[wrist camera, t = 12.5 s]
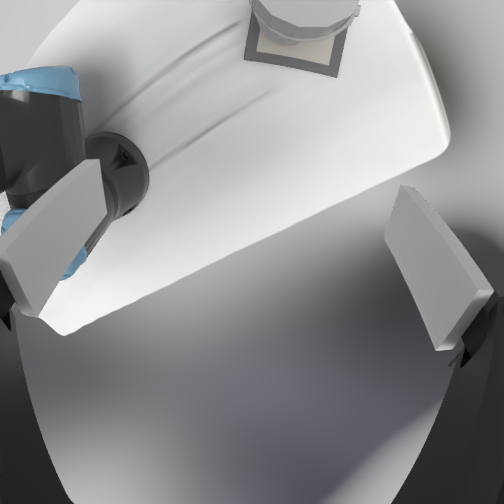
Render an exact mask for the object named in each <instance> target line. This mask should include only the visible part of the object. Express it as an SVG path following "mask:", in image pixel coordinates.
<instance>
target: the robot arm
mask: <svg viewBox="0 0 504 504" xmlns="http://www.w3.org/2000/svg"><path fill="white" fill-rule="evenodd" d="M82 102H83V99H82V97H81V96H80V88H79V79H78V74H77V72H76V71H75V70H74V69H73V68H71V67H68V66H47V67H38V68H32V69H26V70H21V71H17V72H13V73H9V74H6V75H1V76H0V193H2V192H4V191H5V192H6V195H7V198H8V202H9V205H10V209H11V210H10V211H8V212H7V213H6V215H5V217H4V219H3V221H2V227H1V234H2V236H1V237H0V504H74V503H73V502H72V501H71V500H70V499H69V498H68V495H67V494H66V492H65V490H64V488H63V486H62V484H61V481H60V479H59V477H58V475H57V473H56V470H55V468H54V466H53V463H52V461H51V459H50V456H49V453H48V451H47V449H46V445H45V443H44V440H43V438H42V434H41V431H40V428H39V425H38V422H37V419H36V416H35V413H34V410H33V406H32V403H31V399H30V395H29V391H28V388H27V384H26V379H25V375H24V371H23V366H22V361H21V355H20V350H19V345H18V338H17V332H16V324H15V317H14V314H13V312H12V310H11V307H12V305H13V304H14V302H16V304H17V306H18V308H19V310H20V311H21V313H22V314H24V315H28V316H32V317H36V318H37V317H38V316H39V314H40V312H41V310H42V309H43V307H44V305H45V304H46V302H47V300H48V299H49V297H50V295H51V294H52V292H53V291H54V289H55V287H56V286H57V284H58V283H59V281H62V280H65V279H67V278H69V277H71V276H72V275H73V274H74V273H75V271H76V270H77V269H78V268H79V266H80V265H82V264H83V263H84V262H85V261H86V259H87V257H88V255H89V254H90V252H91V251H92V249H93V248H94V246H95V245H96V244H97V242H98V241H99V239H100V238H101V236H102V235H103V234H104V232H105V231H106V229H107V228H108V227H109V225H110V224H111V222H112V221H114V220H116V219H118V218H120V217H122V216H125V215H127V214H128V213H130V212H131V211H133V210H134V209H135V208H136V207H137V206H138V204H139V203H140V202H141V200H142V199H143V198H144V196H145V194H146V191H147V188H148V183H149V173H148V168H147V164H146V161H145V159H144V157H143V155H142V154H141V152H140V151H139V149H138V148H137V147H136V146H135V145H134V144H133V143H132V142H131V141H129V140H128V139H127V138H125V137H123V136H121V135H118V134H115V133H99V134H95V135H93V136H91V137H89V138H88V139H86V140H85V133H84V124H83V114H82ZM384 239H385V241H386V243H387V245H388V246H389V249H390V250H391V252H392V254H393V256H394V258H395V260H396V262H397V264H398V266H399V268H400V270H401V272H402V274H403V276H404V278H405V281H406V283H407V285H408V286H409V289H410V291H411V293H412V296H413V297H414V300H415V302H416V304H417V306H418V309H419V311H420V313H421V316H422V318H423V320H424V323H425V325H426V328H427V330H428V332H429V335H430V337H431V340H432V342H433V345H434V347H435V350H436V351H439V350H450V349H452V348H453V347H454V346H455V345H456V343H457V342H458V341H459V340H460V338H462V340H463V342H464V346H463V347H462V349H461V350H460V351H459V352H458V354H457V355H456V356H455V357H454V358H453V359H452V361H451V362H450V363H449V365H448V366H449V367H451V366H452V365H453V363H456V364H455V368H454V371H453V374H452V377H451V380H450V383H449V386H448V388H447V391H446V394H445V397H444V399H443V402H442V404H441V407H440V409H439V412H438V414H437V417H436V419H435V422H434V424H433V426H432V428H431V431H430V433H429V435H428V438H427V439H426V442H425V444H424V446H423V448H422V450H421V452H420V454H419V456H418V458H417V460H416V462H415V464H414V465H413V467H412V469H411V471H410V473H409V475H408V476H407V478H406V480H405V482H404V483H403V485H402V487H401V489H400V490H399V492H398V494H397V495H396V497H395V498H394V500H393V502H392V503H391V504H504V296H502V297H499V295H498V294H497V292H496V290H495V289H494V287H493V286H492V284H491V283H490V281H489V280H488V278H487V277H486V275H485V274H483V271H482V269H481V268H480V267H479V266H478V264H477V262H476V261H475V260H474V258H473V257H472V255H471V254H469V253H468V252H467V250H466V249H465V248H464V246H463V245H462V244H461V243H460V241H459V240H458V239H457V238H456V236H455V235H454V233H453V232H452V231H451V230H450V229H449V227H448V226H447V225H446V224H445V222H444V221H443V220H442V219H441V217H440V216H439V215H438V214H437V213H436V211H435V210H434V209H433V208H432V207H431V206H430V204H429V203H428V202H427V201H426V200H425V199H424V198H423V197H422V195H421V194H420V193H419V192H418V191H417V190H416V189H415V188H413V187H409V186H404V185H400V188H399V191H398V195H397V198H396V201H395V204H394V207H393V210H392V213H391V216H390V219H389V222H388V225H387V228H386V230H385V233H384Z"/></svg>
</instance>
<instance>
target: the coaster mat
mask: <svg viewBox="0 0 504 504" xmlns="http://www.w3.org/2000/svg"><path fill="white" fill-rule="evenodd" d="M348 19H349V18H348ZM348 19H347V20H348ZM347 20H346V21H347ZM346 21H345V22H344V23H346ZM344 23H343V24H344ZM343 24H342V25H343ZM342 25H341V26H342ZM341 26H340V27H341ZM347 28H348V27H347ZM347 28H346V29H344V30H343V31H341V32H340V33H338V34H337V35H334V36H332V37H329V38H327V39H324V40H321V41H311V42H301V43H299V44H297V45H280V44H278V43H275V42H273V41H271V40H269V39H268V38H267V37H266V35H265V34H264V33H263V32H262V31H261V29H260V26H259V23H258V20H257V18H256V16H255V14H254V12H253V10H252V15H251V20H250V26H249V32H248V37H247V43H246V49H245V55H244V60H250V61H257V62H264V63H270V64H276V65H281V66H287V67H292V68H297V69H302V70H306V71H311V72H315V73H320V74H324V75H328V76H332V77H335V78H337V75H338V71H339V66H340V61H341V57H342V52H343V47H344V43H345V38H346V33H347ZM330 32H332V31H330ZM330 32H328V33H330ZM328 33H326V34H328ZM324 35H325V34H324ZM311 38H312V37H311Z"/></svg>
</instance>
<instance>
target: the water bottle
mask: <svg viewBox="0 0 504 504" xmlns="http://www.w3.org/2000/svg"><path fill="white" fill-rule="evenodd" d="M359 1H360V0H249V2H250V5H251V8H252V10H253V12H254V14H255V16H256V18H257V20H258V23H259V26H260V29H261V31H262V32H263V33H264V34H265V35H266V37H267V38H268V39H269V40H271V41H273V42H275V43H278V44H280V45H297V44H299V43H301V42H311V41H321V40H324V39H327V38H329V37H332V36H334V35H337V34H338V33H340V32H341V31H343V30H344V29H346V28H347V27H349V26H350V25H351V24H352V22H353V19H354V17H358V16H359V12H360V7H361V6H360V5H358V2H359ZM348 18H349V19H348ZM347 19H348V20H347ZM346 20H347V21H346ZM345 21H346V23H344V22H345ZM343 23H344V24H343ZM342 24H343V25H342ZM341 25H342V26H341ZM340 26H341V27H340ZM330 31H332V32H330ZM328 32H330V33H328ZM326 33H328V34H326ZM324 34H325V35H324ZM311 37H312V38H311Z"/></svg>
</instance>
